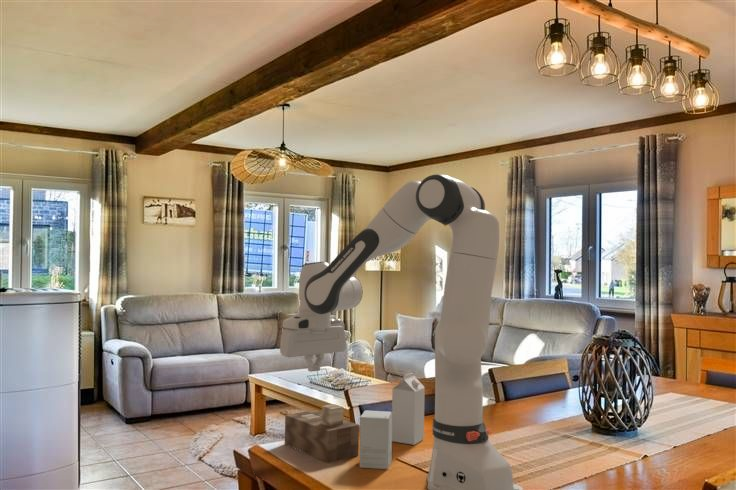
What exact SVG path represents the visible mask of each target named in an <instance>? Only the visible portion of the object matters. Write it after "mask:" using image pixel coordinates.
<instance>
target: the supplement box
mask: <svg viewBox="0 0 736 490" xmlns="http://www.w3.org/2000/svg"><path fill="white" fill-rule="evenodd" d="M392 443H393V441H392V411H386V410H384V411H383V410H382V411H381V410H369V409H368V410H364V411H363V412H362V414H361V415H360V416H359V468H361V469H362V468H365V469H378V470H389V467H390V465H391V463H392V459H393V457H392V454H393V453H392V446H393V445H392Z"/></svg>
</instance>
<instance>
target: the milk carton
mask: <svg viewBox="0 0 736 490" xmlns="http://www.w3.org/2000/svg"><path fill="white" fill-rule="evenodd" d="M425 388H426V387H425V386H424V385H423V384H422V383H421V382H420V380H419V379H417V377H416V376H415V372H410V373H408V374H405V375H403V379H402V380H401V381H400V382H398V383H397V384H396V385H395V386H394V387H393V388H392V394H391V395H392V396H391V399H392V400H391V404H392V405H391V412H392V443H393V442H394V443H402V444H406V445H411V446H415V445H417V444H418V443H420V442H421V441H423V440H424V439H425V437H424V436H425V392H426V391H425Z"/></svg>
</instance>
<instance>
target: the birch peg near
mask: <svg viewBox="0 0 736 490" xmlns="http://www.w3.org/2000/svg"><path fill="white" fill-rule="evenodd" d="M321 412H322V424H324V425H327V426H330V427H333V426H338V425H343V420H344V406H342V405H338V404H335V403H333V404H327V405H322V406H321Z"/></svg>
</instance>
